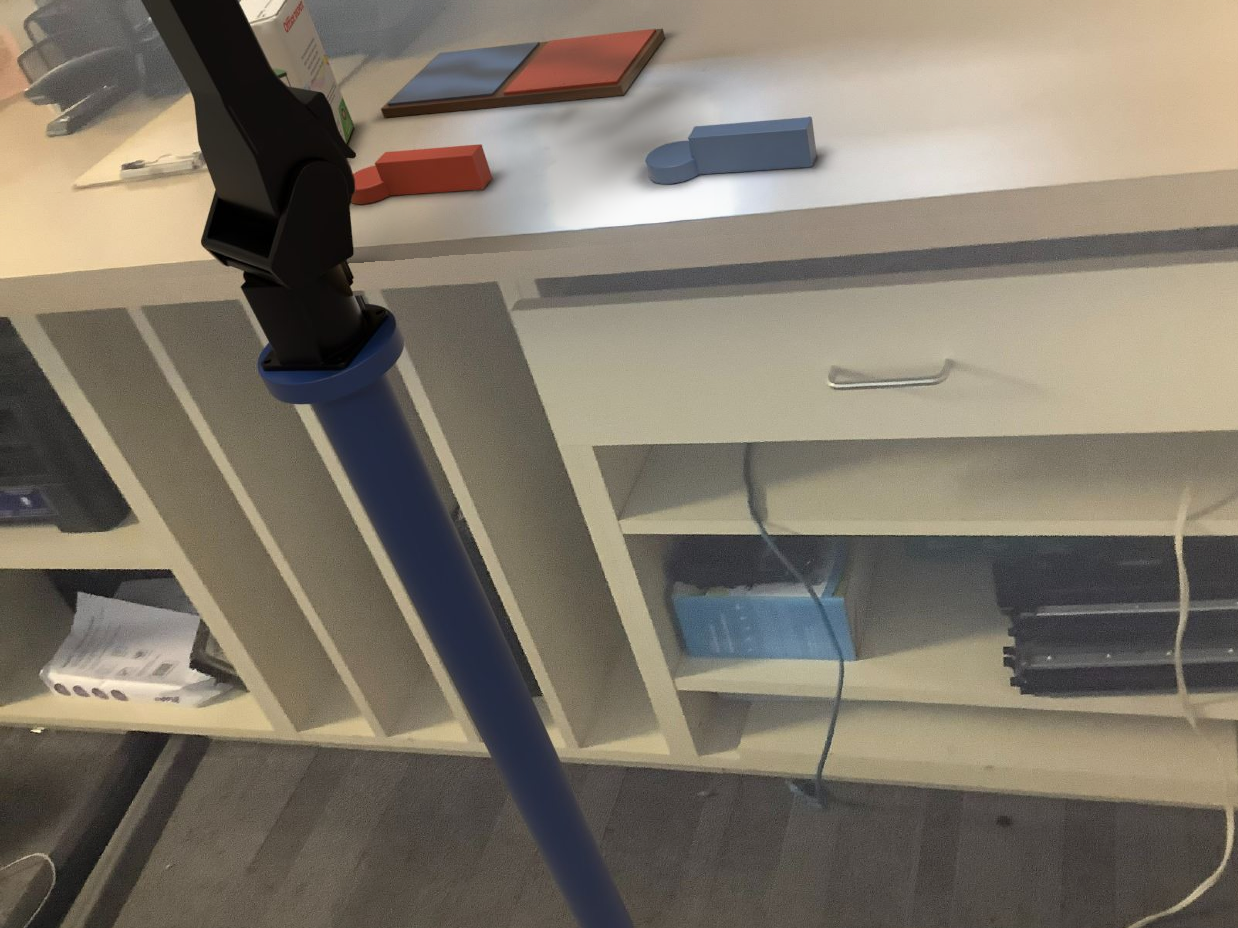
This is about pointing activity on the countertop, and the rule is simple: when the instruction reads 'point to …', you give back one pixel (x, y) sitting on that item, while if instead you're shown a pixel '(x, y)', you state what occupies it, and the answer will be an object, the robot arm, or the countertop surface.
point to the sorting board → (527, 73)
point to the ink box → (296, 51)
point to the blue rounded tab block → (735, 149)
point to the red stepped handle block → (422, 173)
